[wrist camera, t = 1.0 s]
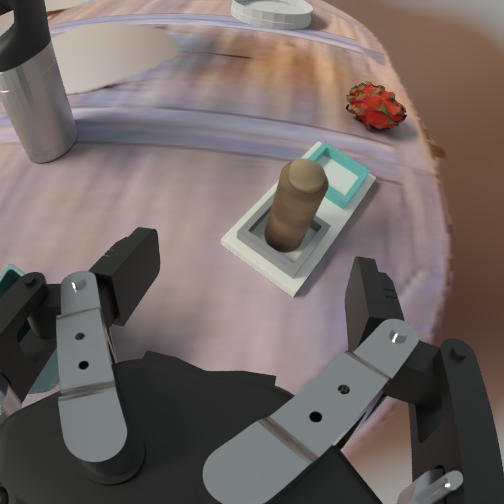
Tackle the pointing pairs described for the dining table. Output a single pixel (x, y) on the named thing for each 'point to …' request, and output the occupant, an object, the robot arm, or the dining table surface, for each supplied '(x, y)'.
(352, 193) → the frame board
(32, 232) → the dining table surface
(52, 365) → the flower pot
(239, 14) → the dish
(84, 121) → the dining table surface
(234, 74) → the dining table surface
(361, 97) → the dragon fruit
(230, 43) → the dining table surface
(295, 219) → the jar
